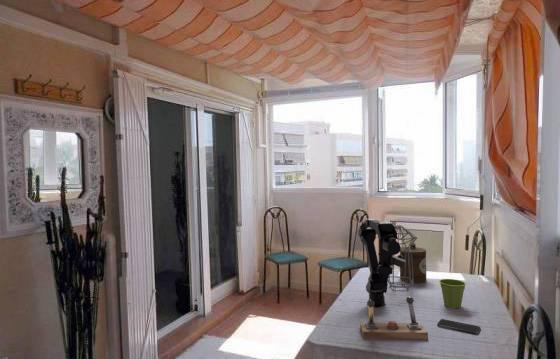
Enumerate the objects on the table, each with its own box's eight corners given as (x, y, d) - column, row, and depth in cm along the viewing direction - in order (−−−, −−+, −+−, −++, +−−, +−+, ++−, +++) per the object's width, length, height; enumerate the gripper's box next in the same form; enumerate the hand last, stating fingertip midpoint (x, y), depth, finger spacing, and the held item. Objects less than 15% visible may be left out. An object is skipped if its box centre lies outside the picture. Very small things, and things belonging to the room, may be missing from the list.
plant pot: (470, 311, 169) (469, 286, 169) (442, 309, 172) (441, 285, 172) (462, 302, 181) (462, 279, 181) (436, 301, 183) (436, 278, 183)
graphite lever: (409, 325, 147) (404, 296, 150) (415, 324, 147) (410, 296, 151) (412, 325, 144) (407, 296, 148) (419, 324, 144) (414, 296, 148)
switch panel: (360, 328, 152) (359, 318, 151) (420, 329, 150) (420, 318, 150) (363, 338, 143) (363, 327, 142) (428, 339, 141) (427, 327, 141)
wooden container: (428, 284, 212) (427, 245, 212) (401, 282, 216) (400, 244, 216) (424, 277, 227) (424, 240, 227) (399, 275, 230) (398, 240, 230)
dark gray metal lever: (368, 322, 149) (367, 298, 146) (375, 322, 148) (374, 298, 145) (367, 326, 146) (366, 302, 143) (374, 327, 145) (374, 302, 143)
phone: (477, 333, 144) (436, 324, 153) (477, 336, 144) (436, 327, 153) (480, 326, 150) (441, 318, 159) (480, 329, 150) (441, 321, 159)
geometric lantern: (410, 285, 211) (410, 223, 210) (417, 294, 195) (418, 227, 194) (381, 284, 213) (382, 222, 211) (386, 293, 197) (387, 227, 196)
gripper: (404, 255, 155) (405, 292, 156) (403, 247, 173) (404, 280, 173) (376, 254, 159) (377, 290, 159) (379, 246, 177) (379, 279, 177)
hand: (385, 285), depth 167 cm, fingers closed
